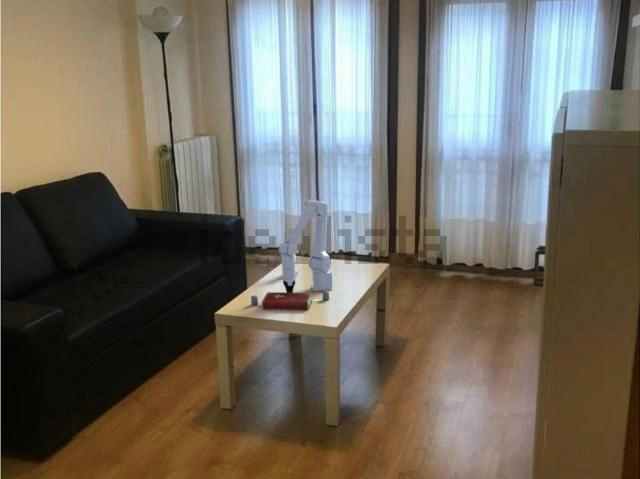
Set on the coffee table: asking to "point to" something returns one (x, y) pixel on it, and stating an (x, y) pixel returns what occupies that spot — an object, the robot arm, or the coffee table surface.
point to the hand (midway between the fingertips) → (289, 295)
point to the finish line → (325, 298)
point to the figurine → (296, 267)
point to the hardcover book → (287, 301)
